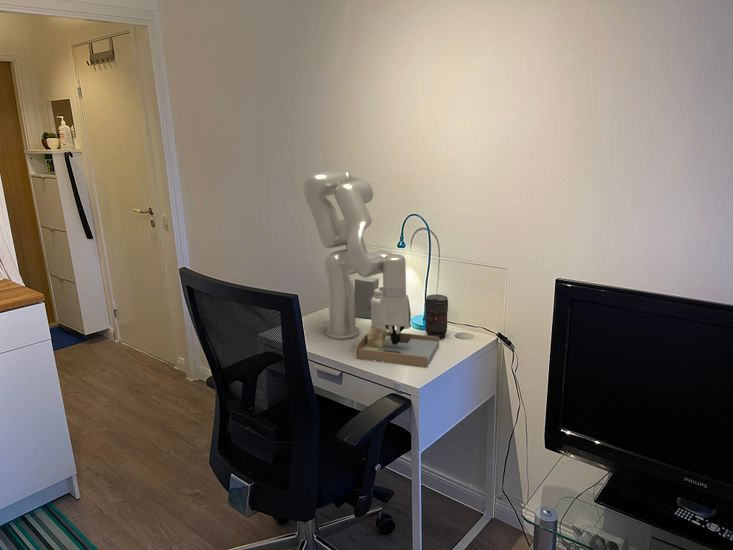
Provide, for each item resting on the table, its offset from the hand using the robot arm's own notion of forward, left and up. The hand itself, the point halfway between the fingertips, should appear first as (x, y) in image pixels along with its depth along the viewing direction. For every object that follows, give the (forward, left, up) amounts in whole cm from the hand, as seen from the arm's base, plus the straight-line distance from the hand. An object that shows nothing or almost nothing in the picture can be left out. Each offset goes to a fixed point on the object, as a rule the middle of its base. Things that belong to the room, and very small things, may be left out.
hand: (395, 343), depth 192 cm
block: (-7, 0, -1) cm, 7 cm away
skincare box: (-22, +32, -4) cm, 39 cm away
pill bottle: (-12, +21, -4) cm, 25 cm away
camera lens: (+10, +18, -4) cm, 21 cm away
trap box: (+1, 0, -3) cm, 3 cm away
